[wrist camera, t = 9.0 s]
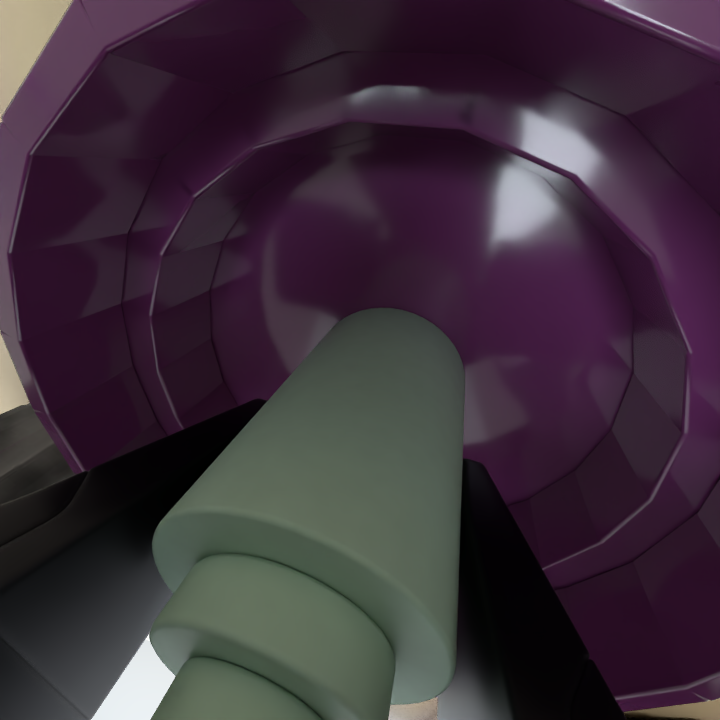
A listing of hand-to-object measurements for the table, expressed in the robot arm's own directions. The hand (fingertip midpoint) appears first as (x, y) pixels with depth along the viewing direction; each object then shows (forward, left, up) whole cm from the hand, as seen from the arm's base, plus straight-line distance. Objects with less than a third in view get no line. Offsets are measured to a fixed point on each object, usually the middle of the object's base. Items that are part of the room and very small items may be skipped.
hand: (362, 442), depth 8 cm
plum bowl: (0, 0, -3) cm, 3 cm away
